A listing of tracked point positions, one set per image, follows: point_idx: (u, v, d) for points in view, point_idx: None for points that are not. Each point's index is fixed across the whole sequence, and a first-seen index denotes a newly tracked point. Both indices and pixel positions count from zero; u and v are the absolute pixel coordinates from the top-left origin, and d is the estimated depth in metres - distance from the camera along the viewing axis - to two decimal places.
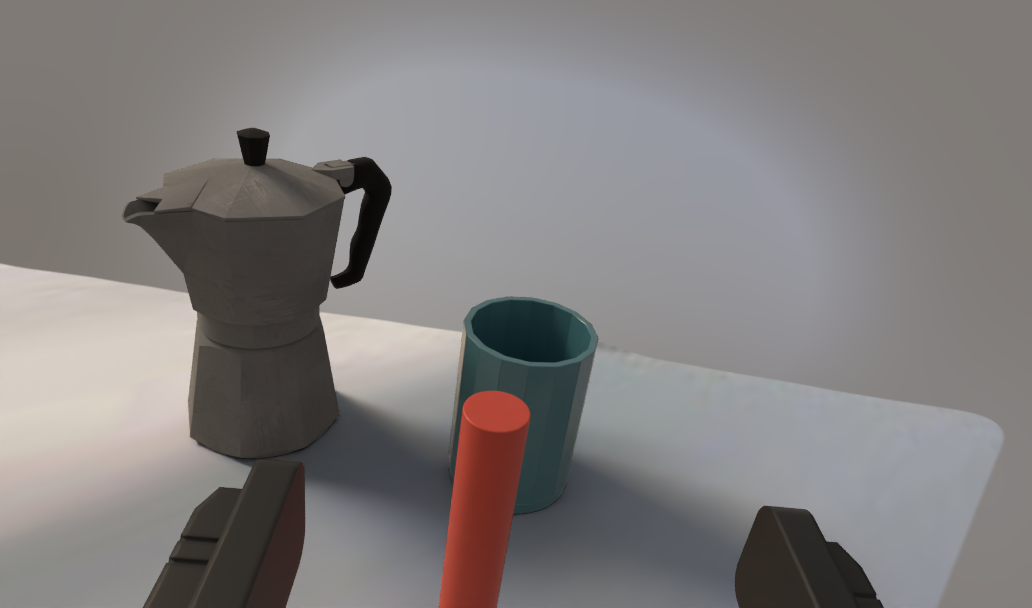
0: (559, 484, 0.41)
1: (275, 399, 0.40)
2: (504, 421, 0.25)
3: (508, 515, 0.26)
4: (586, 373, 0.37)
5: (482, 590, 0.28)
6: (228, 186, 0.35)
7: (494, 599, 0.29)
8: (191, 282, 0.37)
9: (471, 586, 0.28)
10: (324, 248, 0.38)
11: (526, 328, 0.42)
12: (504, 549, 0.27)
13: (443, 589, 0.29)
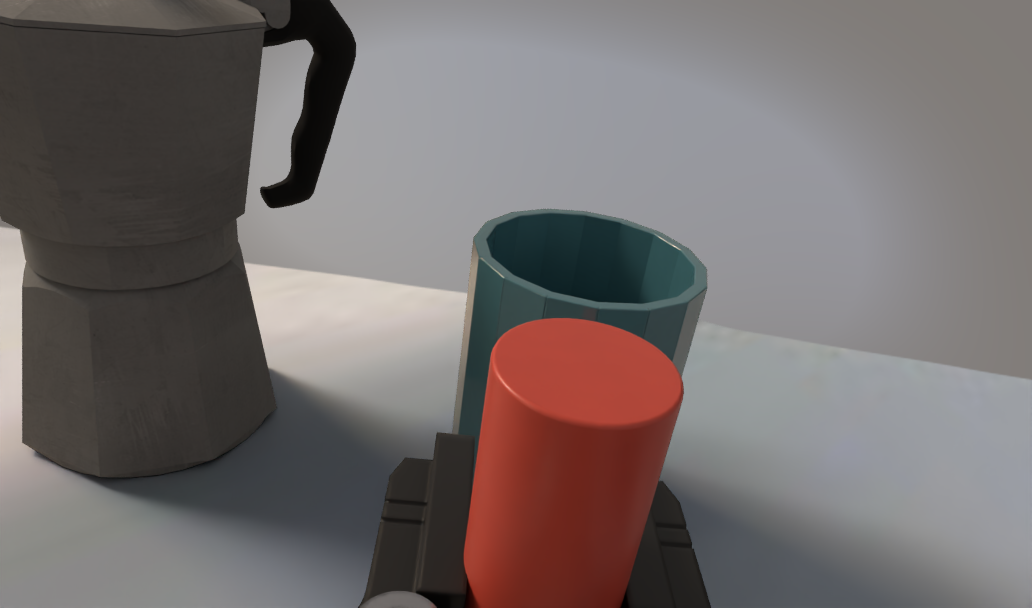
0: None
1: (156, 379, 0.24)
2: (615, 394, 0.08)
3: None
4: (691, 327, 0.21)
5: None
6: None
7: None
8: None
9: None
10: (231, 114, 0.22)
11: (574, 263, 0.26)
12: None
13: None
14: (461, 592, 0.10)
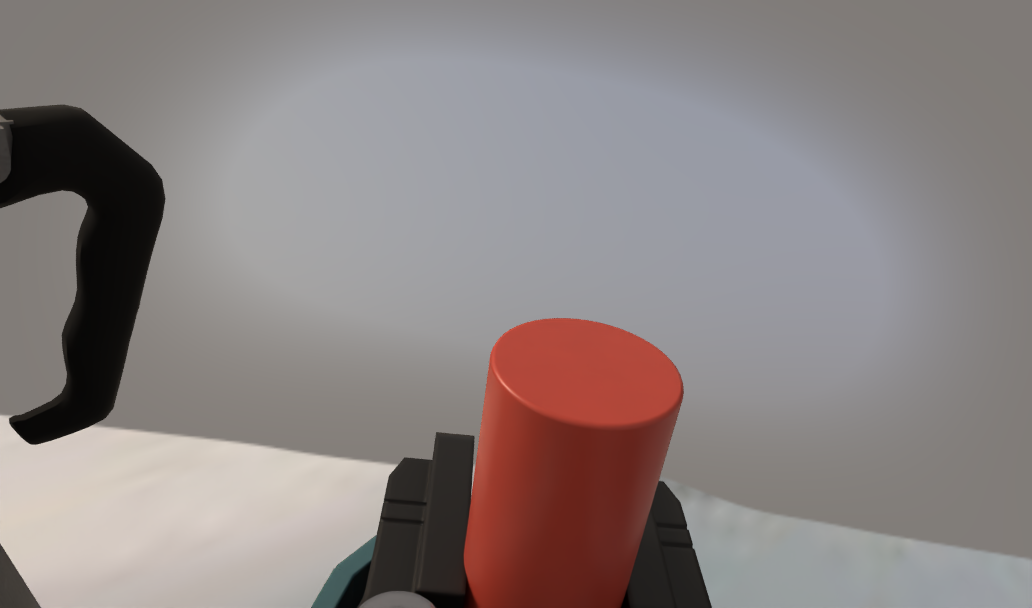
0: None
1: None
2: (615, 394, 0.08)
3: None
4: None
5: None
6: None
7: None
8: None
9: None
10: None
11: None
12: None
13: None
14: (460, 592, 0.10)
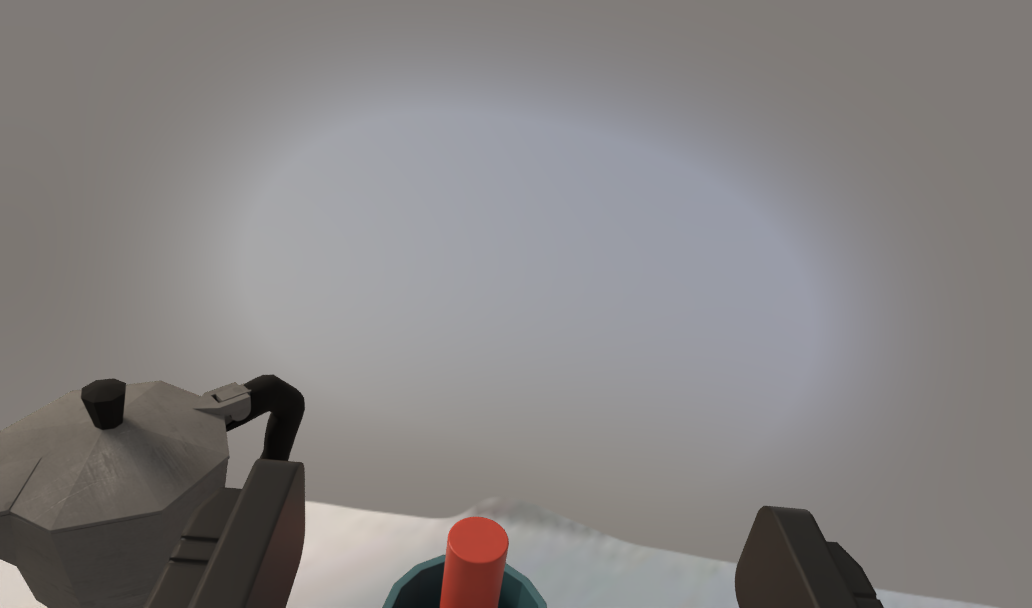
0: None
1: None
2: (484, 550, 0.28)
3: None
4: None
5: None
6: (66, 468, 0.27)
7: None
8: (27, 576, 0.29)
9: None
10: None
11: None
12: None
13: None
14: None
